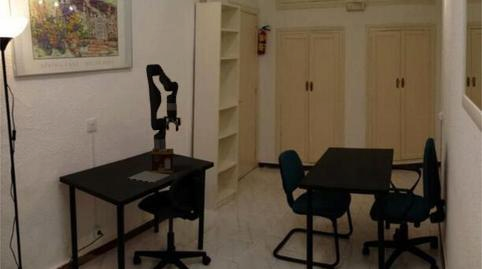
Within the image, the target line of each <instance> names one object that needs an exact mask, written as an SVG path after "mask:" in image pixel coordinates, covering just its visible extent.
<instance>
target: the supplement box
mask: <svg viewBox="0 0 482 269" xmlns="http://www.w3.org/2000/svg"><path fill="white" fill-rule="evenodd" d="M150 153H151V172H152V173H160V174H166V173H167V174H168V173H171V174H172V173H174V170H175V165H174V164H175V163H174V156H175V155H174V148H166V149H153V148H152V150H151V152H150Z"/></svg>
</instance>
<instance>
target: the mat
mask: <svg viewBox="0 0 482 269" xmlns="http://www.w3.org/2000/svg"><path fill="white" fill-rule="evenodd" d="M170 176H171V175H170V174H166V173H152V171H147V170H145V171H142V172H140V173H139V172H138V173H137V174H134V175H132V176H129V177H128V178H130V180H133V179H136V180H135V181H139V180H142V181H141V182H145V181H148V182H147V183H150V182H154V183H157V182H159V181H161V180H163V179H166V178H168V177H170ZM158 180H159V181H158ZM156 181H157V182H156Z"/></svg>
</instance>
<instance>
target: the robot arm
mask: <svg viewBox="0 0 482 269" xmlns="http://www.w3.org/2000/svg"><path fill="white" fill-rule="evenodd" d="M145 71H146V72H145V73H146V79H147V84H148V97H149V98H148V100H149V107H150V108H149V109H150V125H151V126H150V127H151V129H152V131H155V134H153V148H152V149H167V143H166V142H167V141H166V140H167V139H166V135H167V131H170V124H171V123H172V124H174V126H175V132H179V126H181V125H182V120H181V119H182V118H181V117H178V105H177V95H178V91H179V84H178V82H177V81H172V79H171V78H170V77H169V76H168V75H167V74H166V73H165V71H164V69H163V68H162V66H161V65H160V64H158V63H153V64H147V65H146V68H145ZM154 77H158V81H159V83H160V84H161V85H162V86H163V90H164V91H165V92H168V93H170V92H171V93H170V94H167V95H166V115H165V116H163V117H158V111H159V109H160V107H161V105H162V102H163V101H162V92H161V90H160V89H159V88H158V86H157V84H156V83H155V81H154Z"/></svg>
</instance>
